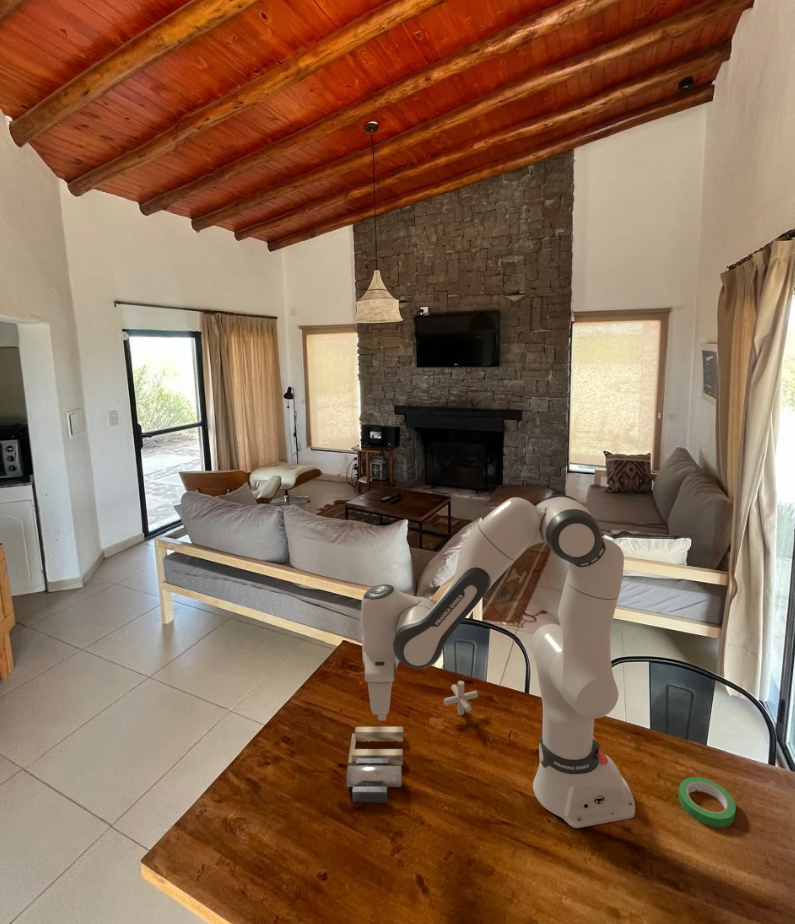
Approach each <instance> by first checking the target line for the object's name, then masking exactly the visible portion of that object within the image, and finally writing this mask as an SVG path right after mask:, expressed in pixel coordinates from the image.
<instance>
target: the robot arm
mask: <svg viewBox="0 0 795 924" xmlns="http://www.w3.org/2000/svg"><path fill="white" fill-rule="evenodd" d="M542 543H546V544H547V546H548V547H549V549H550V551H551V552H553V554H554V555H555V556H557V557H558V558H560V559H562V560H564V561H566V562H568V563H569V564H568V571H567V574H566V577H565V580H564V584H563V588H562V594H561V597H560V601H559V604H558V605H559V606H558V609H557V613H558V614H557V615H558V616H557V617H558V621H559V624H560V625H559V624H557V623H548V624H543V625H542V626H540V627H538V629H537V630H536V631H535V632H534V633H533V635H532V637H531V641H530V646H531V647H530V648H531V652H532V655H533V657H534V660H535V665H536V669H537V671H536V672H537V677H538V679H537V680H538V683H539V684H538V685H539V691H540V697H541V702H542V731H541V733H540V737H539V746H538V752H539V753H538V755H539V764H538V768H537V771H536V775H535V776H534V779H533V782H532V789H533V790H532V791H533V793H534V795H535V798H536V799H537V801H538V802H539V803H540V805H541V806H543V808H545V810H547V811H549V812H550V813H552V814H554V815H556V816H558V817H559V818H561V819H563V820H564V821H565V823H567V824H568V825H569V826H570V827H572V828H574V829H580V828H584V827H591V826H596V825H597V826H598V825H602V824H607V823H612V822H618V821H624V820H628V819H633V818H634V817H635V816H636V803H635V802H636V801H635V798H634V796H633V793H632V790H631V789H630V786H629V785H628V783H627V781H626V780H625V778H624V777H623V775H622V774H621V773H620V770H619V769H618V766H617V765H616V764H615V762H614V761H613V760H612V758H611V757H609V755H607V754H606V753H605V752H603V751H601V746H600V744H599V742H598V741H597V740H596V738H595V736H594V726H595V719H600V718H603V717H605V716H607V715H608V714H610V713H611V712H612V711H613V710H614V709H615V708H616V705H617V703H618V700H619V689H618V686H617V684H616V680H615V677H614V673H613V668H612V666H613V665H612V658H611V657H612V656H611V653H612V652H611V631H612V630H611V629H612V625H613V620H614V616H615V611H616V608H617V604H618V599H619V597H620V592H621V587H622V582H623V575H624V563H625V562H624V561H625V556H624V552H623V550H622V548H621V547H620V546H619V544H617V543H616V542H614V541H612V540H610V539H609V538H605V537H604V536H603V534H602V530H601V527H600V525H599V523H598V521H597V520H596V519H595V517H594V516H593V515H592V513H591V512H590V511H589V509H588V508H587V507H586V506H584V505H583V504H582V503H580V502H579V501H578V500H577V499H576V498H575V497H574V498H573V497H572V496H569V495H565V494H555V495H550V496H549V497H546V498H542V499H539V500H536V501H533V502H532V503H531V502H530V501H529V500H527V499H524V498H522V497H518V496H517V497H515V496H514V497H510V498H508V499H507V500H505V501H504V502H502V503H501V504H499V505H498V506H497V507H496V508H494V509H493V510H492V511H490V513H488V514H487V515H486V516H485V517H484V518H483V519H482V520H481V521H480V522H479V523H478V524H477V525H476V526H474V528H473V529H472V530H471V532H470V533H469V534H468V535H467V537H466V538H465V540H464V541H463V542H462V545H461V546H460V549H459V553H458V559H457V564H456V568H455V572H454V576H453V579H452V582H451V583H450V585H449V586H448V589H447V590H446V591H445V592H444V594H443V595H442V596H441V597H440V599H438V600H437V602H436V603H435V602H434V601H433V600H431V599H430V598H428V597H426V596H422V595H421V596H415V595H414V596H413V595H411V594H408V593H405V592H402V591H401V590H399V589H397V588H396V586H394V585H391V584H386V583H385V584H384V583H383V584H378V585H374V586H372V587H371V588H369V589H368V590H366V592H365V593H364V595H363V596H362V600H361V606H360V627H361V630H362V633H363V634H362V639H361V647H362V648H361V649H362V650H361V651H362V662H363V666H364V680H365V682H367V687H368V695H369V703H370V704H369V705H370V710H371V713H372V715H375V716H377V720H378V721H386V720H387V715H388V714H389V712H390V705H391V692H392V685H393V682H394V681H395V677H396V672H397V669H398V666H399V663H400V662H401V664H403V665H405V667H408V668H412V669H417V670H418V669H427V668H429V667H431V666H433V665H435V664H436V663H437V662H438V661H439V659H440V657H441V655H442V653H443V650H444V646H445V644H446V642H447V641H448V639H449V638H450V636H451V635H452V634H453V633H454V632H455V630H457V628H458V627H459V626H460V624H461V623H462V622H463V621H464V620H465V619H466V618H467V616H469V614H470V613H471V612H472V611H473V610H474V609H475V607H476V606H477V604H479V602H480V601H481V600H482V599H483V597H484V596H485V595H486V593H487V592H488V591H489V590H490V589H491V588H492V586H493V585H494V583H496V581H497V580H498V579H499V578H500V577H501V576H502V575H503V574H504V573H505V572H506V571H507V570H508V569H509V568H510V567H511V566H512V565H513V564H514V563H515V561H516V560H517V559H519V558H520V557H521V556H522V554H524V552H525V551H526V550H528V549H529V548H531V547H533V546H534V545H537V544H542Z"/></svg>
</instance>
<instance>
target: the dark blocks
mask: <svg viewBox="0 0 795 924" xmlns="http://www.w3.org/2000/svg"><path fill="white" fill-rule="evenodd" d="M355 766H390V765H389V758H357V761H356V765H355ZM351 792H352V793H351V794H352V803H364V802H365V803H368V802H369V803H373V804H375V803H377V804H378V803H383V804H385V803H388V787H387V786H353V787H352V791H351ZM369 803H368V804H369Z"/></svg>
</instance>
